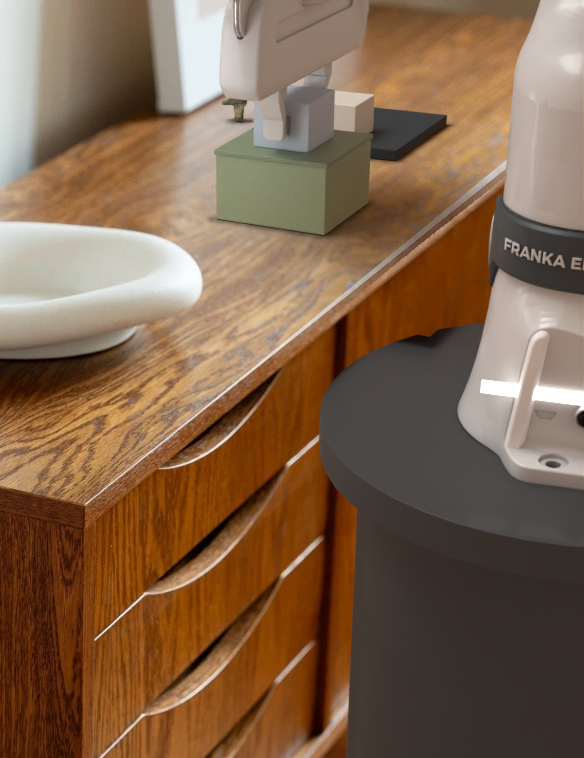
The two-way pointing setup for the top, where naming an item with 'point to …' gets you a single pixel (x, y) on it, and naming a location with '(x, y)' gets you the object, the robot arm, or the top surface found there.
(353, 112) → the beige cube
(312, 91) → the gray box
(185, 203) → the top surface
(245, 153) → the storage box
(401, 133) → the mat
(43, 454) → the top surface
